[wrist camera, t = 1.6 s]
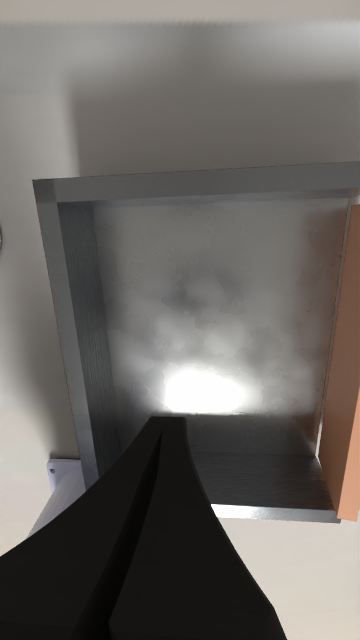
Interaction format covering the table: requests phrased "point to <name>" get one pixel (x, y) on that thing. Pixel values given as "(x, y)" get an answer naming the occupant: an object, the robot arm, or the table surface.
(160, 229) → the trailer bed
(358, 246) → the panel
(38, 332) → the table surface
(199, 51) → the table surface
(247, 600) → the robot arm
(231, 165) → the table surface
